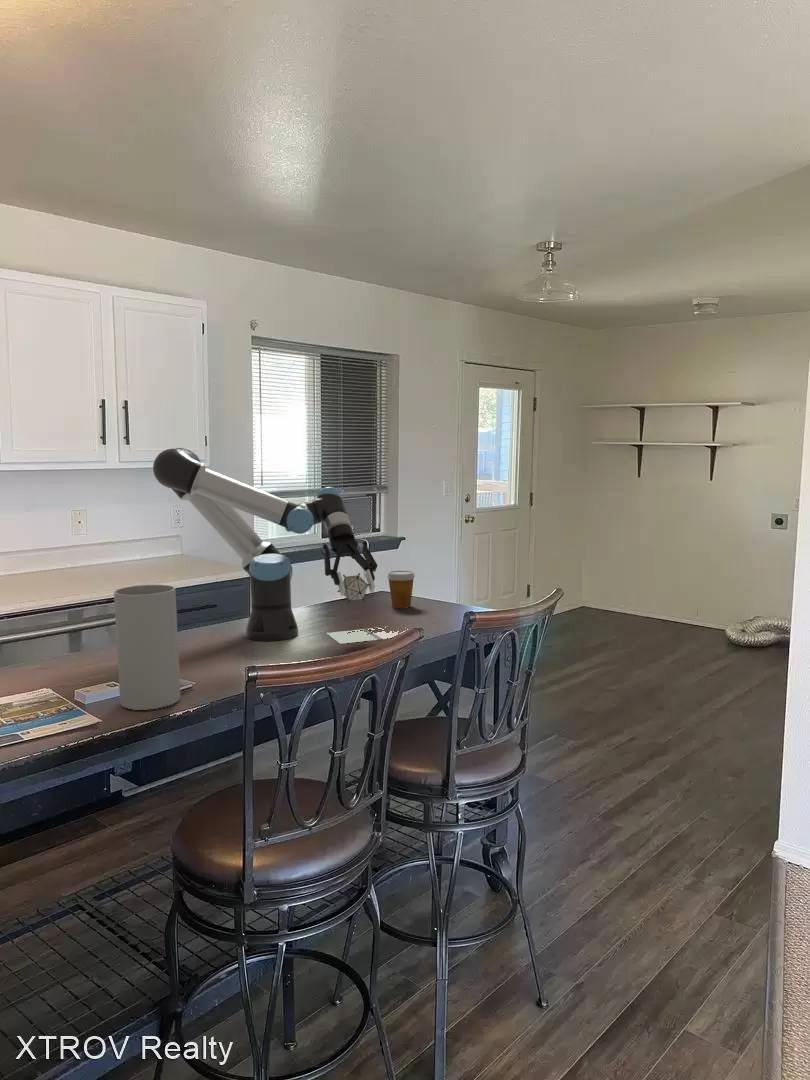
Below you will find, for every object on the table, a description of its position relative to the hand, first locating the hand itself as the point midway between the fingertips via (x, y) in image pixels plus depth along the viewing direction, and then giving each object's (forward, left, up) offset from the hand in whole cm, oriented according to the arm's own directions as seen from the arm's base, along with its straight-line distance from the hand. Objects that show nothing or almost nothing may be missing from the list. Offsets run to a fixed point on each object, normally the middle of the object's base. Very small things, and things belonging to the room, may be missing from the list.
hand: (358, 591), depth 224 cm
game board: (+5, +3, -14) cm, 15 cm away
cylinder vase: (-60, -35, -14) cm, 71 cm away
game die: (0, +3, -4) cm, 5 cm away
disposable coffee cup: (+28, +37, -14) cm, 49 cm away
